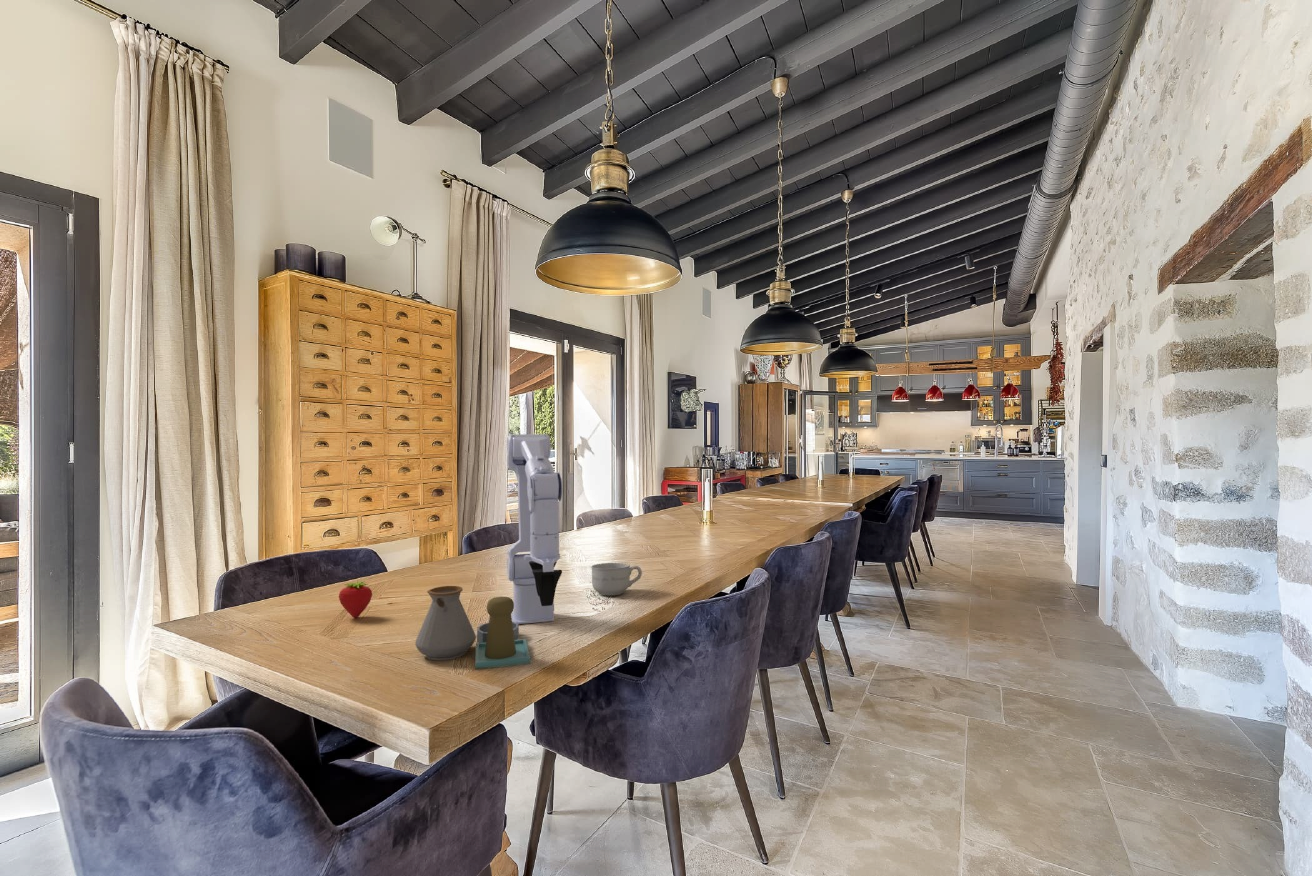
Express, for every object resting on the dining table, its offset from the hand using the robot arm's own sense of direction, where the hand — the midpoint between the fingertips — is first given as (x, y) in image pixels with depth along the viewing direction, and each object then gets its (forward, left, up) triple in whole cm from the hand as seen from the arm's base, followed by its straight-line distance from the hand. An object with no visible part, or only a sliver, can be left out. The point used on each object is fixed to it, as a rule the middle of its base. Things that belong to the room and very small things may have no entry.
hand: (544, 600), depth 122 cm
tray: (+8, 0, -10) cm, 13 cm away
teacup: (-24, -41, -11) cm, 48 cm away
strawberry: (+41, -37, -11) cm, 56 cm away
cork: (+9, 0, -10) cm, 13 cm away
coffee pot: (+19, 0, -11) cm, 22 cm away
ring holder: (+9, -11, -10) cm, 18 cm away
